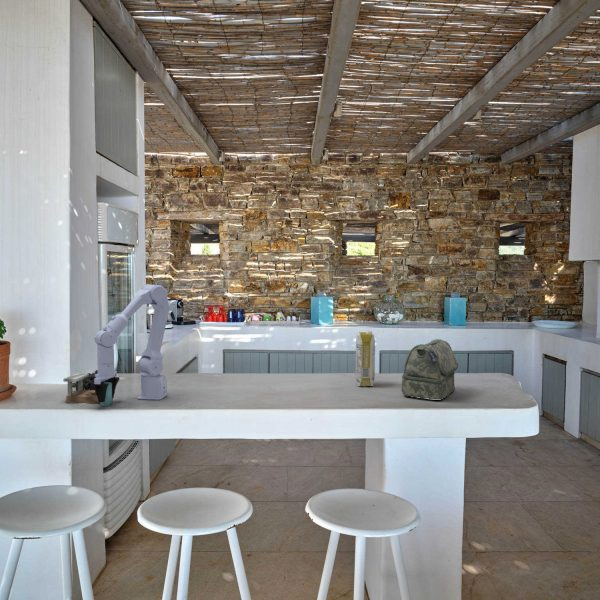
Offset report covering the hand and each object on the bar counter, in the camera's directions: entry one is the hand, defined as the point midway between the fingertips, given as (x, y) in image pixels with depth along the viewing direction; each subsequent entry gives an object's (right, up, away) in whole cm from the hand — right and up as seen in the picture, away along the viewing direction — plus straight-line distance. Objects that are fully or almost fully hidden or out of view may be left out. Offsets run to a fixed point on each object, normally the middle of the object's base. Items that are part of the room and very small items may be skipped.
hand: (106, 399), depth 205 cm
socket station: (-8, -1, +7) cm, 11 cm away
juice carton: (+100, -1, +37) cm, 106 cm away
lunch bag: (+125, -2, +22) cm, 126 cm away
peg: (0, -2, 0) cm, 2 cm away
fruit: (-14, -1, +22) cm, 26 cm away
